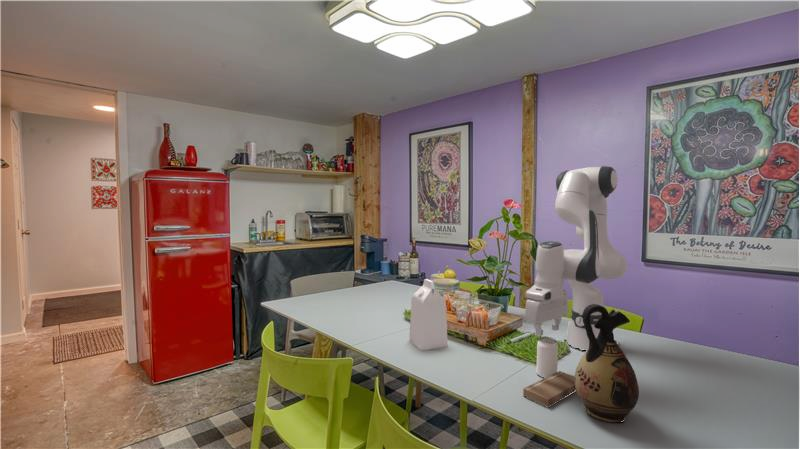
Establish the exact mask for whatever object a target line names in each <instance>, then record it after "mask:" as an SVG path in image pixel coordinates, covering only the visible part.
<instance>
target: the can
mask: <svg viewBox="0 0 800 449" xmlns="http://www.w3.org/2000/svg"><path fill="white" fill-rule="evenodd" d="M536 344H537V346H536V374H537V376H538V375H539V376H538V377H540V376H541V377H540V378H542V377H545V378H546V377H548V376H551V375H553V374H555V373H557V372H558V360H559V359H558V358H559V354H558V352H559V345H558V341H557V339H555V338H552V337H549V336H547V337H546V336H542V337H539V338H538V341H537V343H536Z"/></svg>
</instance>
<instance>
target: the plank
mask: <svg viewBox="0 0 800 449" xmlns="http://www.w3.org/2000/svg"><path fill="white" fill-rule="evenodd" d="M575 390H576V389H575V375H571V374H569V373H568V372H564V371H561V370H559V371H557V373H555V374H553V375H551V376H548V377H546V378H542V379H540V380H538V381H536V382H534V383H532V384H530V385H528V386H526V387H523V392H522V396H523V395H524V396H526V397H528V398H530V399H532V400H534V401H536V402H538V403H540V404H542V405H541V406H543V405H544V406H543V407H545V406H547V407H549V406H550V405H552V404H554V403H555V402H557V401H559V400H560V399H562V398H564V397H565V396H567V395H569V394H570V393H572V392H574V391H575ZM524 396H523V397H524ZM526 397H525V398H526ZM528 398H527V399H528ZM530 399H529V400H530ZM532 400H531V401H532ZM534 401H533V402H534ZM536 402H535V403H536ZM559 402H560V401H559ZM538 403H537V404H538ZM557 403H558V402H557ZM540 404H539V405H540ZM554 405H555V404H554ZM552 406H553V405H552ZM547 407H546V408H547ZM550 407H551V406H550ZM550 407H549V408H550Z"/></svg>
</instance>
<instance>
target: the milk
mask: <svg viewBox="0 0 800 449" xmlns="http://www.w3.org/2000/svg"><path fill="white" fill-rule="evenodd" d="M410 304H411V305H410V320H409V338H408V339H409V341H410V342H411V343H412V344H413V345H414V346H415V347H416V348H418V349H419V350H420V351H427V350H434V349H442V348H447V347H448V326H447V325H448V322H447V301H446V299H445V297H444V296H442V294H440V293H439V292H438V291H437V289H435V283H434V280H430V279H428V278H424V279H423V283H422V286H420V287H419V288H418V290H416V292H414V293H413V295H412V297H411V303H410Z"/></svg>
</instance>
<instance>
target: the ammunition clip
mask: <svg viewBox="0 0 800 449" xmlns="http://www.w3.org/2000/svg"><path fill="white" fill-rule="evenodd" d="M464 322H465V324H464V326H466V327H473V328H478V329H480V328H481V329H485V330H489V331H490V319H489V317H488V316H487V317H486V319H485V315H483V316H482V318H481V316H480V315H479V314H478V317H477V314H474V316H473V313H470V316H469V313H468V312H466V315H465V321H464ZM463 336H464V338H463V341H466V342H465V343H468V342H470V344H472V343H476V341H475V339H474V338H472V337H471V336H468V335H466V334H465V333H464V335H463Z"/></svg>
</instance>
